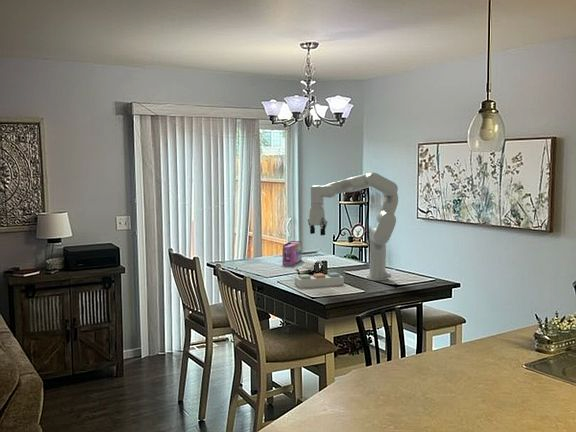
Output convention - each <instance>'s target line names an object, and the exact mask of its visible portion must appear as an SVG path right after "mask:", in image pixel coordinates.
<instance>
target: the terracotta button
mask: <svg viewBox="0 0 576 432" xmlns="http://www.w3.org/2000/svg"><path fill="white" fill-rule="evenodd" d="M325 275H326V274H324V273H322V272H319V273H313V275H312V276H313V277H315V278H325Z"/></svg>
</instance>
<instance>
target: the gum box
mask: <svg viewBox="0 0 576 432" xmlns="http://www.w3.org/2000/svg"><path fill="white" fill-rule="evenodd" d="M300 261H302V241H300V240H298V241H297V240H291V241H289V242H287V243H285V244H283V245H282V265H283V266H284V265H286V266H287V265H288V266H293V265H295V264H297V263H298V262H300Z"/></svg>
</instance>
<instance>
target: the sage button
mask: <svg viewBox="0 0 576 432" xmlns="http://www.w3.org/2000/svg"><path fill="white" fill-rule="evenodd" d="M311 276H312V275H310V274H308V273H307V274H298V277H299V278H300V279H311Z"/></svg>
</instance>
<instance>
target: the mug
mask: <svg viewBox="0 0 576 432" xmlns="http://www.w3.org/2000/svg"><path fill="white" fill-rule="evenodd" d="M316 262H317V263H319V264H320V266H322V265H323V262H322V261H321V260H319V259H313V258H307V259H306V260H305V262H304V264H302V265H301V268H302V269H305V270H306V269H308V270H311V271H310V272H312V271H313V270H314V265H315V263H316ZM323 266H324V265H323ZM308 270H307V271H308Z"/></svg>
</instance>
